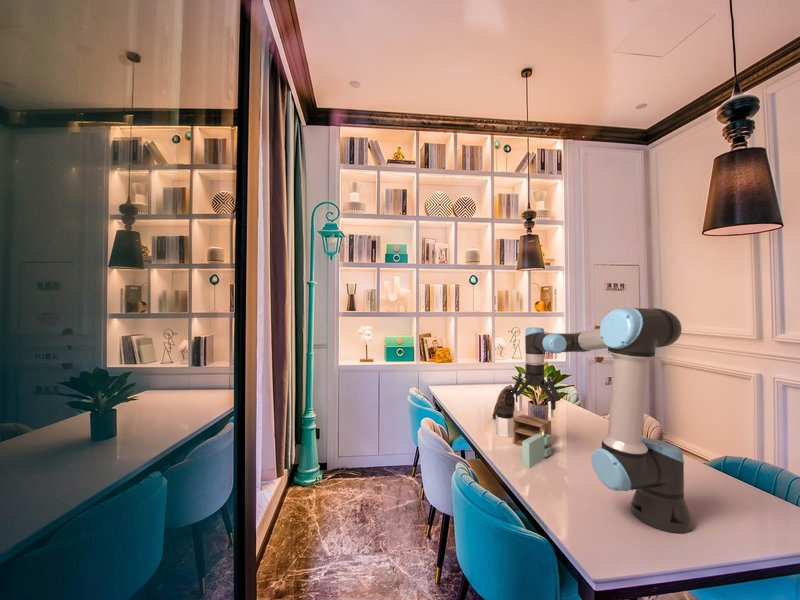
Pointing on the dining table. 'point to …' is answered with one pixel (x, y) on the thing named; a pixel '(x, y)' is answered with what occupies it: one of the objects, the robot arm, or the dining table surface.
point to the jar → (504, 423)
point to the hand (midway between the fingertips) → (535, 413)
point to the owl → (505, 401)
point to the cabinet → (529, 428)
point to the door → (535, 449)
